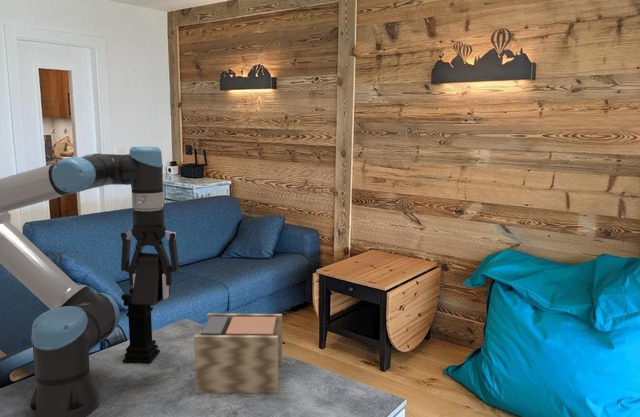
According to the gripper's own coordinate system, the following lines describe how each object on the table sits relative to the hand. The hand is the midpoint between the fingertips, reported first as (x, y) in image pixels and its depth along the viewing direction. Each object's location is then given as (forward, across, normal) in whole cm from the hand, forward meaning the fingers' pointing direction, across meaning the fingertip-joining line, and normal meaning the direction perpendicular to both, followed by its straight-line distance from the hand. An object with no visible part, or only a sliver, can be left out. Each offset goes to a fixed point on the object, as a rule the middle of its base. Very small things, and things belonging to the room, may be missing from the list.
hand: (151, 297), depth 133 cm
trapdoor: (+13, +22, +4) cm, 26 cm away
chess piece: (+24, -9, +16) cm, 30 cm away
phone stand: (+1, 0, 0) cm, 1 cm away
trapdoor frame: (+24, +22, +4) cm, 33 cm away
